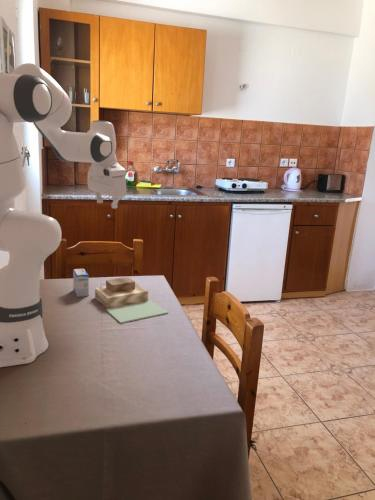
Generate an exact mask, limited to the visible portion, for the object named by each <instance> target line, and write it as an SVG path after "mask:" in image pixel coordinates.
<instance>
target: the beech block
mask: <svg viewBox="0 0 375 500" xmlns="http://www.w3.org/2000/svg"><path fill="white" fill-rule="evenodd" d="M94 298H95V299H96V300H97V301H98V302H100V304H102V306H104V307H105V308H106V309H110V308H115V307H120V306H125V305H131V304H136V303H141V302H146V301H149V290H147V289H146V288H144V287H143V286H141V285H140V284H138V283H137V282H135V289H133V290H128V291H122V292H116V293H112V292H111V291H109V290H108V289H107V288H106V285H104V286H97V287H94Z"/></svg>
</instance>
